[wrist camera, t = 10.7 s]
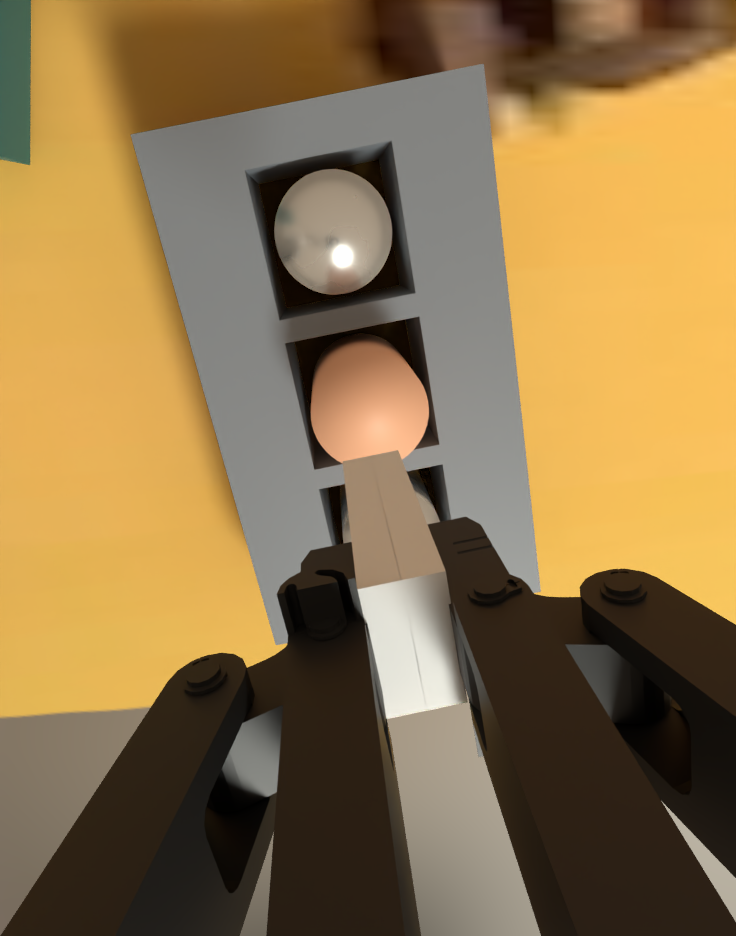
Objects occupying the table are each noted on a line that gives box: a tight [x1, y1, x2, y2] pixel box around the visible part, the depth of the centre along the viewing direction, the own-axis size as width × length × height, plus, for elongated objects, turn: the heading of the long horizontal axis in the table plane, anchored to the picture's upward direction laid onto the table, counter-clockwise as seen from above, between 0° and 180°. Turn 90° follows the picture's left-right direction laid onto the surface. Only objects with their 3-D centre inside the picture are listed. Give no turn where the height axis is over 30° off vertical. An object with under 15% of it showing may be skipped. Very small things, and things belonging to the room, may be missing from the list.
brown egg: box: [311, 334, 429, 463], centre depth 28 cm, size 5×5×6 cm
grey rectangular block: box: [131, 64, 541, 645], centre depth 31 cm, size 14×24×6 cm, turn 11°
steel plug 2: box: [340, 470, 440, 543], centre depth 33 cm, size 5×5×6 cm
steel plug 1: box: [274, 169, 392, 295], centre depth 29 cm, size 5×5×6 cm
